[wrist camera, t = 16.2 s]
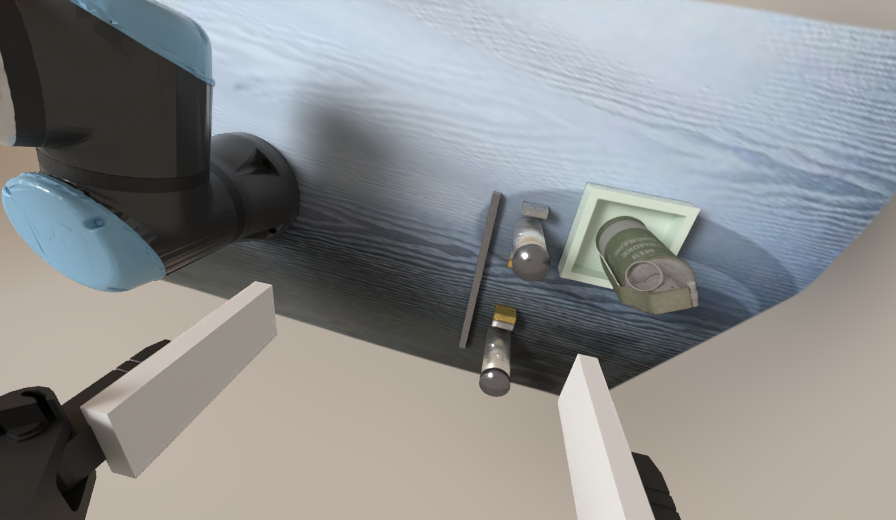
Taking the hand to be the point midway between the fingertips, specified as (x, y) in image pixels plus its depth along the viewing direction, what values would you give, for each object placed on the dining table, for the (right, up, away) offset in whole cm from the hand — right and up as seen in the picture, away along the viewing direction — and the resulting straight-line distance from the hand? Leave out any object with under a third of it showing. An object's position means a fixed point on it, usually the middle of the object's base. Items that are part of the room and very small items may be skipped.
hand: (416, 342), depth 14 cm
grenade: (+23, +6, +27) cm, 36 cm away
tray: (+23, +6, +28) cm, 36 cm away
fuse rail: (+9, 0, +33) cm, 34 cm away
